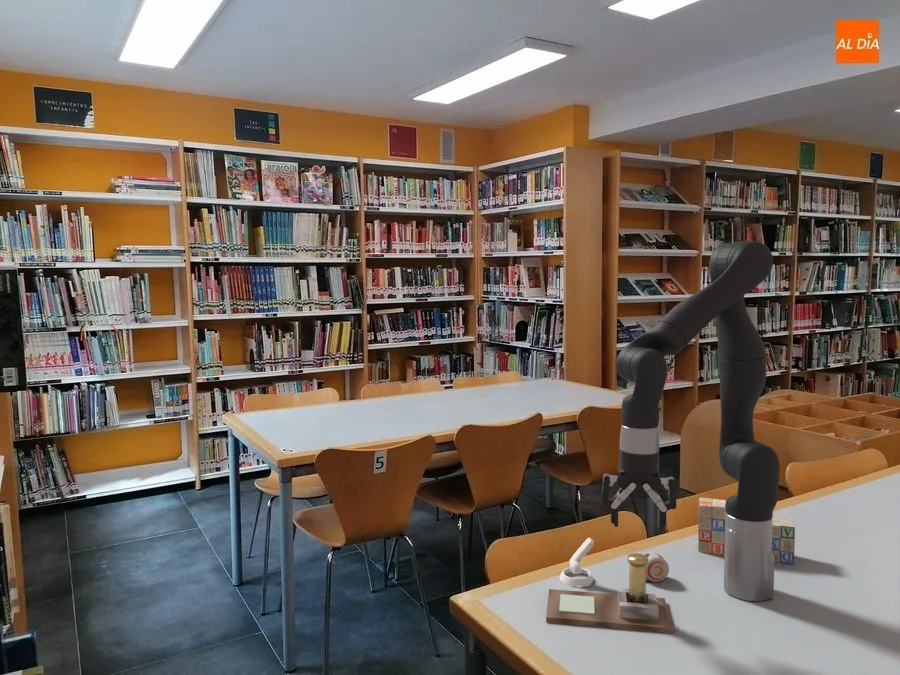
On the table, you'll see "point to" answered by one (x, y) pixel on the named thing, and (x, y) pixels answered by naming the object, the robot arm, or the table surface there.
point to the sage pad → (577, 604)
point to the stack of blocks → (714, 531)
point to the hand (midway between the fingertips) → (637, 526)
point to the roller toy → (656, 567)
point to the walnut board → (614, 611)
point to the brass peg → (637, 578)
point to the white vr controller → (578, 566)
